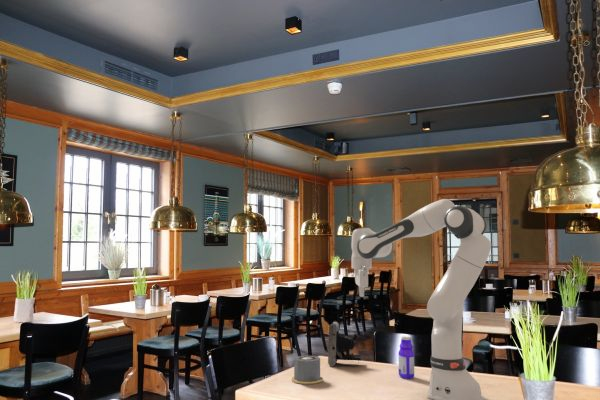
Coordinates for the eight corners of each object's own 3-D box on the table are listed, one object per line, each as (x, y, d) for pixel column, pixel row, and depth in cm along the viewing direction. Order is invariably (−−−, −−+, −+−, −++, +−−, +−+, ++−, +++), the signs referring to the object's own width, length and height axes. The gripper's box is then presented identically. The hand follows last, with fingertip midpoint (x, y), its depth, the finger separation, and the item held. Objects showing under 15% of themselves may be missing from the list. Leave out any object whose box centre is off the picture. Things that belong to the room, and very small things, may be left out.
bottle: (417, 378, 221) (416, 337, 222) (405, 380, 219) (405, 337, 220) (407, 374, 227) (406, 334, 229) (396, 376, 225) (395, 335, 227)
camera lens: (316, 368, 217) (316, 359, 217) (304, 370, 214) (304, 360, 214) (309, 365, 222) (309, 356, 222) (297, 367, 219) (297, 357, 220)
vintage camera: (360, 369, 240) (361, 325, 241) (327, 366, 243) (328, 323, 245) (362, 364, 249) (363, 322, 251) (330, 362, 252) (331, 320, 254)
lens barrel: (328, 382, 215) (328, 359, 216) (301, 386, 209) (301, 363, 210) (312, 375, 226) (312, 354, 227) (286, 378, 220) (286, 357, 221)
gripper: (371, 265, 218) (371, 299, 217) (366, 263, 238) (366, 294, 237) (356, 265, 218) (356, 298, 217) (352, 263, 238) (352, 294, 237)
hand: (361, 296), depth 227 cm, fingers closed
